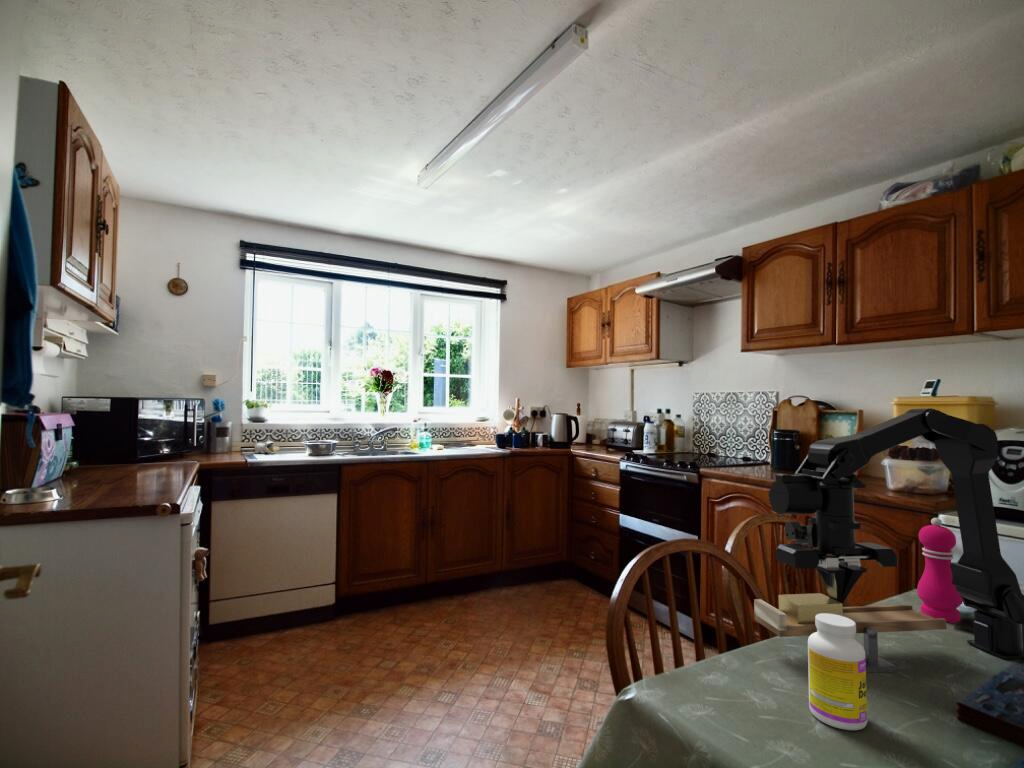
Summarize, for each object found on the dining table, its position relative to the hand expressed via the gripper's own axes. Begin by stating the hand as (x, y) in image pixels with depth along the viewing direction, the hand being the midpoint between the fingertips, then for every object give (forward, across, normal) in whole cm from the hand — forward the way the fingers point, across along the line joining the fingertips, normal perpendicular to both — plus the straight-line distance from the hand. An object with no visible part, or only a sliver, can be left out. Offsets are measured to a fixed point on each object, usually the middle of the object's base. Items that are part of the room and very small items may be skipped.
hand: (837, 606), depth 88 cm
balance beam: (+3, -2, 0) cm, 3 cm away
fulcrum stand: (+8, -2, 0) cm, 8 cm away
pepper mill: (+8, -34, -14) cm, 38 cm away
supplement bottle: (+8, +14, +17) cm, 23 cm away
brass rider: (+2, +5, 0) cm, 5 cm away
